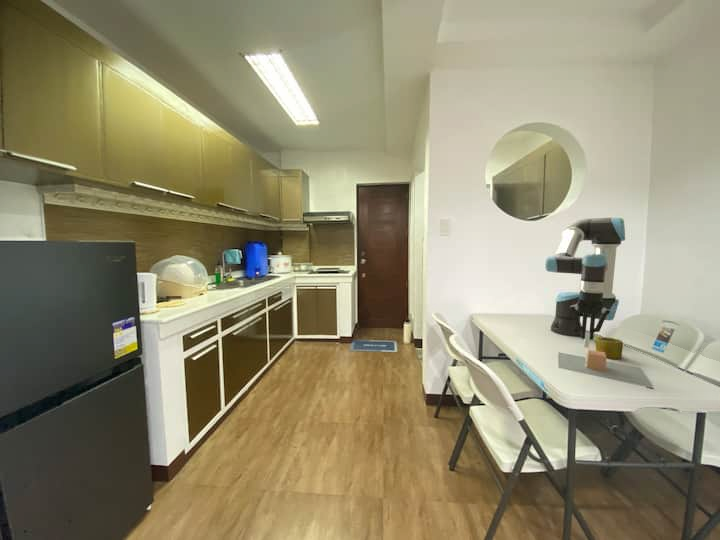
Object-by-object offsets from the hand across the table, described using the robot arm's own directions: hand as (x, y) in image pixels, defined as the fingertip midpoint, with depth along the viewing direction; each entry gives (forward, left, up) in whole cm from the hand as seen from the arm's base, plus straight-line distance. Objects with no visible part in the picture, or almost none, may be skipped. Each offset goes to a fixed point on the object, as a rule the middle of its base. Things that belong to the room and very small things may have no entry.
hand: (586, 346), depth 119 cm
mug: (-20, +9, -9) cm, 24 cm away
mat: (0, +5, -8) cm, 10 cm away
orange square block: (0, 0, -5) cm, 5 cm away
